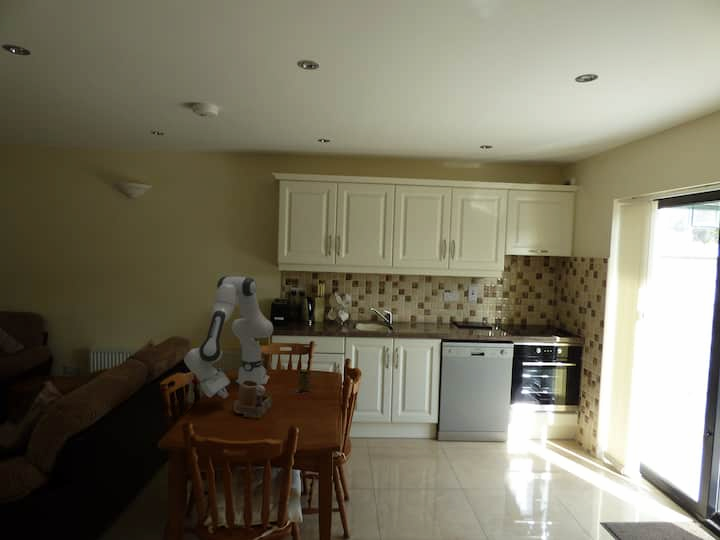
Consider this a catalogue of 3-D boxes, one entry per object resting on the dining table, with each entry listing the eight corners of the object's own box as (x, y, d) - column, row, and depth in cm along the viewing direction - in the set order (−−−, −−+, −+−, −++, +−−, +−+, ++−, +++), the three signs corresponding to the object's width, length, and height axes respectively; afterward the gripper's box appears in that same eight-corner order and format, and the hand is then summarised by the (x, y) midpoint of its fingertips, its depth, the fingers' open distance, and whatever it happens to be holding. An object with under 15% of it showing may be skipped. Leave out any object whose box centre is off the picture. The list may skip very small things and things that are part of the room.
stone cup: (258, 415, 219) (258, 384, 219) (233, 416, 217) (233, 385, 216) (257, 404, 234) (258, 376, 233) (234, 405, 231) (235, 376, 231)
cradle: (257, 404, 234) (258, 375, 234) (274, 405, 233) (275, 376, 232) (243, 417, 215) (244, 386, 215) (262, 418, 214) (262, 387, 214)
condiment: (305, 388, 264) (306, 368, 263) (313, 392, 257) (313, 371, 257) (294, 390, 259) (295, 370, 259) (302, 394, 253) (303, 373, 252)
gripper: (203, 378, 216) (221, 399, 216) (221, 367, 237) (238, 387, 236) (194, 386, 217) (212, 407, 216) (213, 375, 237) (230, 394, 237)
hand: (226, 396), depth 226 cm, fingers closed
